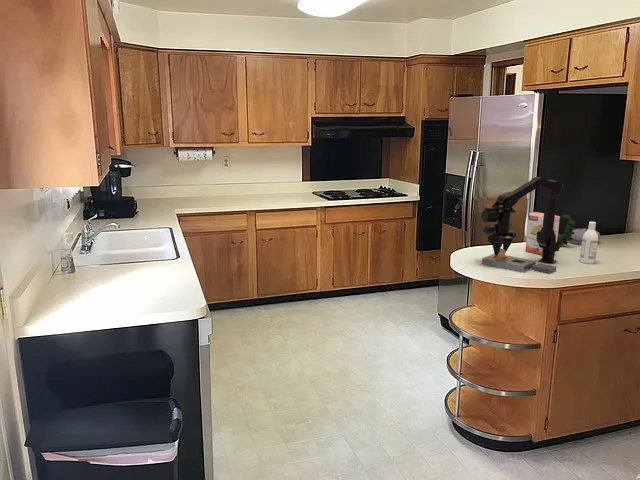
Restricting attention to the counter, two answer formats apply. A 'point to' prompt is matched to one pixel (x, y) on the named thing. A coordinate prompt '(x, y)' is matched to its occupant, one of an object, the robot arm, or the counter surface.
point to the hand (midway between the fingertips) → (500, 253)
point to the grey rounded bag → (580, 236)
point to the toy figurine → (566, 231)
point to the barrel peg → (501, 254)
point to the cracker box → (534, 226)
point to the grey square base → (544, 268)
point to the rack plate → (509, 263)
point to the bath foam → (589, 245)
